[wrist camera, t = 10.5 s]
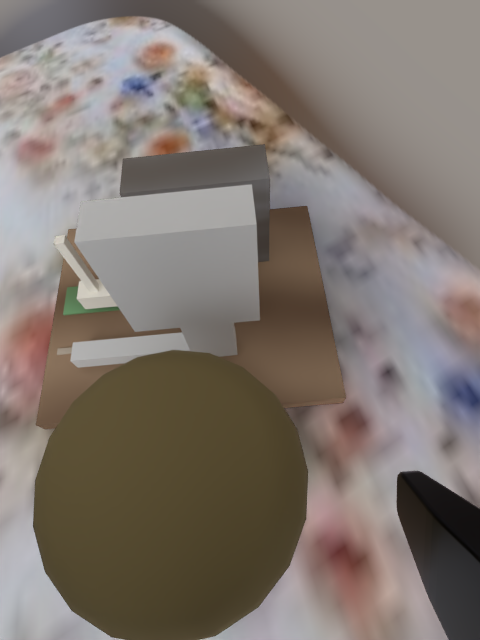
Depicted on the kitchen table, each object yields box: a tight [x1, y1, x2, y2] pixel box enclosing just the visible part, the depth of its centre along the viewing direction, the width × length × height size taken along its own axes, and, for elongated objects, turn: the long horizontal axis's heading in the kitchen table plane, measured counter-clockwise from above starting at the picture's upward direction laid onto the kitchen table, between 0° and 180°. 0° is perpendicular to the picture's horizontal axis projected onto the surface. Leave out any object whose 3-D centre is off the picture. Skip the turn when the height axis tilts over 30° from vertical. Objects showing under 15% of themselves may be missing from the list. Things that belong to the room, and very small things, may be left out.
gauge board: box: [36, 144, 346, 429], centre depth 18 cm, size 11×14×6 cm
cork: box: [33, 350, 308, 640], centre depth 11 cm, size 6×6×11 cm
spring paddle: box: [70, 184, 260, 368], centre depth 14 cm, size 2×8×10 cm, turn 94°
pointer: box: [54, 235, 117, 309], centre depth 18 cm, size 1×2×5 cm, turn 94°
